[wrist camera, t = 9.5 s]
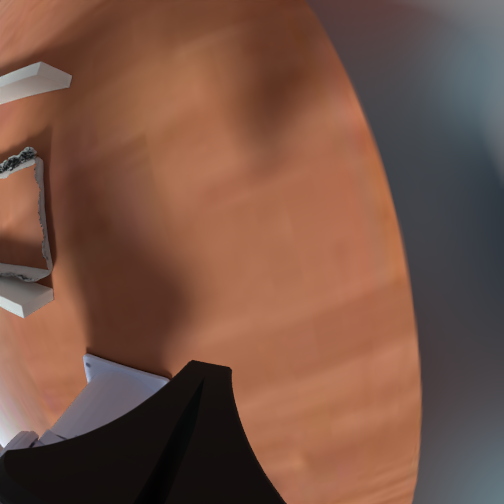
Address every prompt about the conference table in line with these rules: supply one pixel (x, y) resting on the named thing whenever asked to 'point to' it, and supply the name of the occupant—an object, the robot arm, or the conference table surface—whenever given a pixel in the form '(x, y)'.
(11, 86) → the box
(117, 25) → the conference table surface
